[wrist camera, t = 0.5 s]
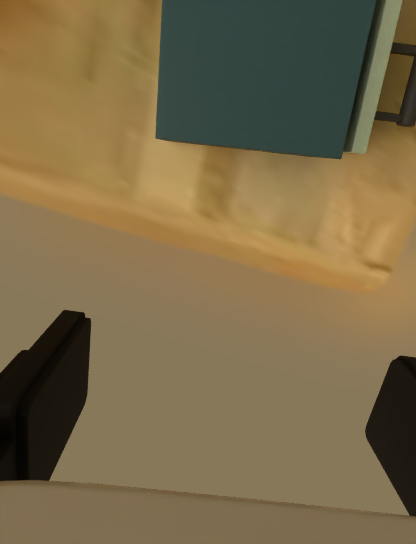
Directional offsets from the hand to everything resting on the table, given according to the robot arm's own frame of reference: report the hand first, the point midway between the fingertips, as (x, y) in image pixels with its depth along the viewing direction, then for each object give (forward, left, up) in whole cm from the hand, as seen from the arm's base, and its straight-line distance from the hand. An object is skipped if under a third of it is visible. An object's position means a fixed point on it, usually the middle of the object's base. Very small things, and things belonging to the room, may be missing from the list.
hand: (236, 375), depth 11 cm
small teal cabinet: (-13, +2, -29) cm, 32 cm away
